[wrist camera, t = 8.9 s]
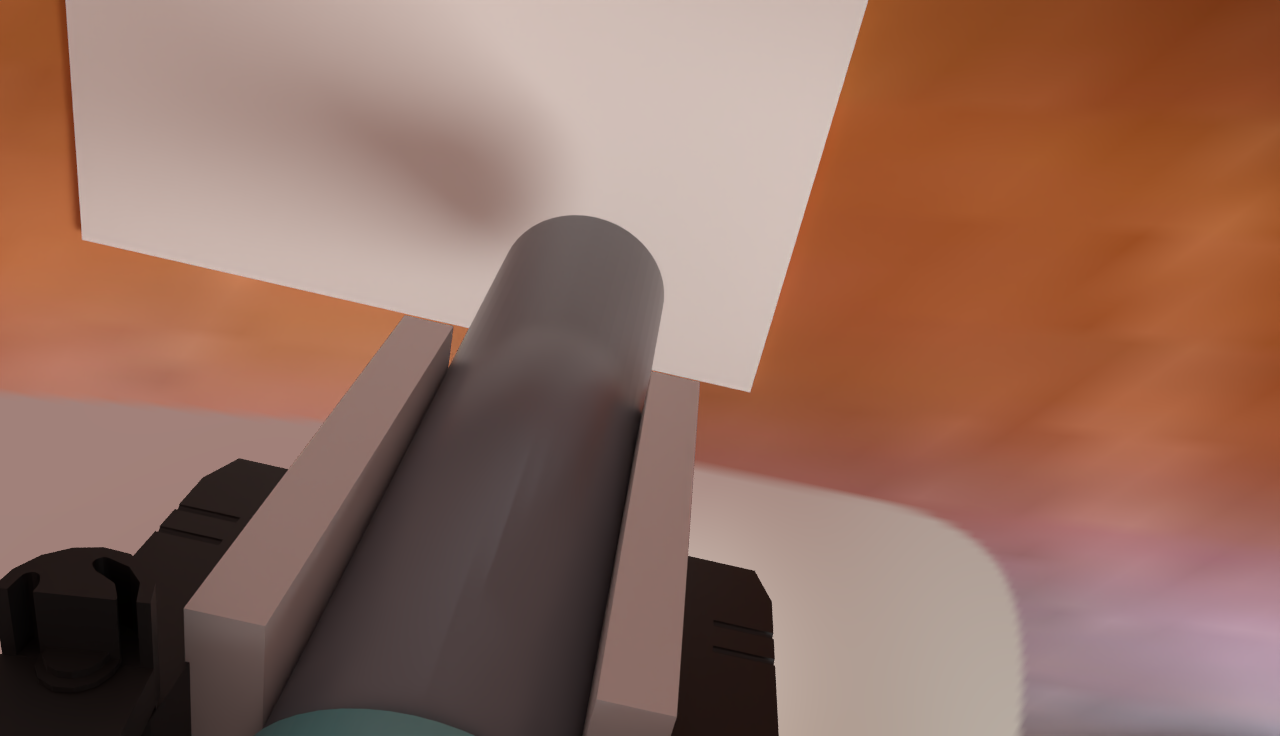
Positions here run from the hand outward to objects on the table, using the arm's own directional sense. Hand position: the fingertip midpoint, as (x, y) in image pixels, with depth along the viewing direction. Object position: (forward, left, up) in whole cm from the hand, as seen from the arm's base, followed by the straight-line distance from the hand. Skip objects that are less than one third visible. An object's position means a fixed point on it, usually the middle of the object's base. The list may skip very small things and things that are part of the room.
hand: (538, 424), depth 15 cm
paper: (+4, +4, -7) cm, 9 cm away
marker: (+1, 0, -4) cm, 4 cm away
